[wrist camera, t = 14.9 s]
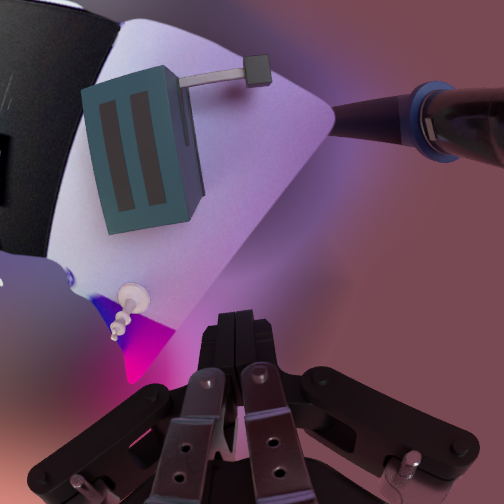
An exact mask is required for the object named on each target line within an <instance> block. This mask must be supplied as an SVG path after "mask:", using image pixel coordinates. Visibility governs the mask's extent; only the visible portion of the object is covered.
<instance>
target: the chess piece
mask: <svg viewBox="0 0 504 504" xmlns="http://www.w3.org/2000/svg"><path fill="white" fill-rule="evenodd" d="M118 300H119V303H120V305H121V306H122V307H123V311H120V312H118V313H117V314H116V321H114V322H113V323H112V324H111V326H110V328H111V331H112V335H111V339H112V340H114V341H117V335H123V334H124V333H125V325H128V324H129V323H130V321H131V319H130V316H129V315H130V314H131V313H135V314H138V313H142V312H144V311H145V310H146V309H147V308H148V306H149V304H150V296H149V294H148V292H147V290H146V289H145V288H144V287H143V286H141V285H139V284H137V283H126V284H124V285H123V286H122V287H121V288H120V290H119V293H118Z"/></svg>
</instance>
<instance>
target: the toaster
mask: <svg viewBox="0 0 504 504" xmlns="http://www.w3.org/2000/svg"><path fill="white" fill-rule="evenodd" d="M81 95H82V104H83V111H84V118H85V125H86V131H87V138H88V144H89V149H90V155H91V160H92V165H93V170H94V175H95V180H96V184H97V189H98V193H99V198H100V202H101V206H102V210H103V214H104V218H105V222H106V226H107V230H108V233H109V235H113V234H118V233H124V232H129V231H135V230H140V229H146V228H152V227H158V226H164V225H170V224H176V223H182V222H188V221H190V219H191V217H192V215H193V213H194V211H195V209H196V207H197V205H198V203H199V201H200V200H201V198H202V197H203V196H205V190H204V184H203V178H202V172H201V166H200V160H199V154H198V148H197V141H196V135H195V129H194V122H193V116H192V109H191V102H190V95H189V88H183V89H181V88H180V85H179V78H178V77H177V76H176V75H175V74H174V73H173V72H171V71H170V70H169V69H168V68H167V67H165V66H164V65H162V66H157V67H153V68H149V69H146V70H142V71H138V72H135V73H131V74H128V75H124V76H121V77H118V78H114V79H111V80H108V81H105V82H102V83H99V84H96V85H93V86H91V87H88V88H85V89H82V90H81Z"/></svg>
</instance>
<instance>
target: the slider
mask: <svg viewBox="0 0 504 504" xmlns="http://www.w3.org/2000/svg"><path fill="white" fill-rule="evenodd" d="M243 67H244V68H238V69H231V70H224V71H217V72H211V73H205V74H200V75H194V76H189V77H184V78H179V85H180V88H181V89H183V88H188V87H193V86H198V85H204V84H210V83H216V82H222V81H229V80H236V79H244V78H245V80H246V87H247V88H254V87H263V86H269V85H270V84H271V83H272V77H271V70H270V64H269V58H268V54H265V55H255V56H246V57H243Z"/></svg>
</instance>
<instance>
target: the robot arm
mask: <svg viewBox="0 0 504 504" xmlns="http://www.w3.org/2000/svg"><path fill="white" fill-rule="evenodd" d="M418 122H419V128H420V131H421V134H422V136H423V138H424V140H425V141H426V143H427V144H428V145H429V146H430V147H431V148H432V149H433V150H434V151H436V152H438V153H441V154H445V155H453V156H457V157H462V158H466V159H470V160H474V161H478V162H482V163H486V164H490V165H493V166H497V167H500V168H504V87H484V88H464V89H449V90H443V89H441V90H434V91H431V92H429V93H428V94H427V95H426V96H425V97H424V98H423V100H422V102H421V104H420V107H419V113H418ZM237 406H244V408H245V417H244V418H245V427H246V434H247V442H248V449H249V456H250V457H249V458H246V459H242V460H239V461H235V452H236V440H237V429H238V418H237ZM150 428H151V431H150V432H149V433H148V434H146V435H145V436H144V437H143V438H142V439H140V440H139V441H138V442H137V443H135V444H134V445H133V446H132V447H130V448H129V446H130V445H131V444H132V443H133V442H134V441H135V440H137V439H138V438H139V437H140V436H141V435H143V434H144V433H145V432H146V431H148V430H149V429H150ZM296 428H302V429H304V431H305V432H306V433H307V434H308V435H309V436H311V437H313V438H314V439H316V440H317V441H319V442H320V443H322V444H323V445H325V446H327V447H328V448H330V449H331V450H333V451H334V452H336V453H338V454H339V455H341V456H342V457H344V458H346V459H347V460H349V461H351V462H352V463H354V464H356V465H357V466H359V467H361V468H363V469H364V470H366V471H368V472H370V473H371V474H373V475H375V476H377V477H379V478H380V481H379V489H380V492H381V493H382V495H383V496H384V497H386V498H387V499H388V500H389V501H390V502H391V504H442V502H443V501H444V499H445V498H446V496H447V494H448V493H449V491H450V490H451V489H452V487H453V486H454V485H455V484H456V483H457V482H458V480H459V479H460V478H461V477H462V476H463V474H464V473H465V472H466V471H467V470H468V468H469V467H470V466H471V465H472V463H473V462H474V461H475V459H476V458H477V456H478V454H479V451H480V445H479V441H478V439H477V438H476V437H475V436H474V435H473V434H472V433H470V432H468V431H466V430H463V429H461V428H459V427H456V426H454V425H451V424H449V423H447V422H444V421H442V420H439V419H437V418H435V417H433V416H430V415H428V414H426V413H423V412H421V411H419V410H417V409H415V408H412V407H410V406H408V405H406V404H404V403H402V402H399V401H397V400H395V399H393V398H391V397H389V396H387V395H385V394H382V393H380V392H378V391H376V390H374V389H372V388H370V387H368V386H366V385H364V384H362V383H360V382H358V381H356V380H354V379H352V378H349V377H348V376H346V375H344V374H342V373H340V372H338V371H336V370H334V369H332V368H329V367H324V366H319V367H314V368H311V369H309V370H307V371H306V372H305V373H304V374H303V375H302V376H299V375H291V374H288V373H285V372H283V371H282V370H281V369H280V368H279V367H278V365H277V359H276V353H275V346H274V340H273V333H272V327H271V324H270V323H269V322H268V321H267V320H266V319H260V320H254V316H253V311H252V309H251V310H244V311H237V312H236V313H235V312H229V313H221V314H219V315H218V324H217V325H213V326H208V327H207V329H206V330H205V331H204V333H203V336H202V343H201V350H200V356H199V364H198V370H197V371H196V372H195V373H194V374H193V375H192V376H191V377H190V379H189V382H188V384H187V385H185V386H183V387H180V388H177V389H174V390H170V391H169V390H168V388H167V387H165V386H164V385H162V384H155V383H154V384H149V385H146V386H144V387H142V388H141V389H140V390H138V391H137V392H136V393H134V394H133V395H132V396H130V397H129V398H128V399H127V400H125V401H124V402H122V403H121V404H120V405H119V406H117V407H116V408H115V409H113V410H112V411H111V412H109V413H108V414H106V415H105V416H104V417H102V418H101V419H100V420H98V421H97V422H96V423H94V424H93V425H92V426H90V427H89V428H88V429H86V430H85V431H83V432H82V433H81V434H79V435H78V436H77V437H75V438H74V439H72V440H71V441H70V442H68V443H67V444H65V445H64V446H62V447H61V448H60V449H58V450H57V451H55V452H54V453H53V454H51V455H50V456H48V457H47V458H45V459H44V460H43V461H41V462H40V463H38V464H37V465H35V466H34V467H33V468H32V469H31V470H30V472H29V473H28V477H27V484H28V486H29V488H30V489H31V490H32V491H33V492H34V493H35V494H36V495H38V496H39V497H40V498H42V499H43V501H44V502H46V503H47V504H388V503H386V502H385V501H383V500H381V499H380V498H378V497H376V496H375V495H373V494H371V493H370V492H368V491H367V490H365V489H363V488H362V487H360V486H359V485H357V484H356V483H354V482H353V481H351V480H350V479H348V478H347V477H345V476H344V475H342V474H341V473H339V472H338V471H336V470H335V469H334V468H332V467H331V466H329V465H327V464H325V463H323V462H321V461H318V460H316V459H312V458H307V457H304V455H303V451H302V448H301V444H300V441H299V437H298V434H297V430H296ZM128 448H129V449H128ZM132 491H133V492H132ZM131 492H132V493H131ZM130 493H131V494H130ZM127 495H128V496H127ZM126 496H127V497H126ZM125 497H126V498H125ZM124 498H125V499H124ZM122 499H124V500H122ZM121 500H122V501H121ZM120 501H121V502H120Z"/></svg>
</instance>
